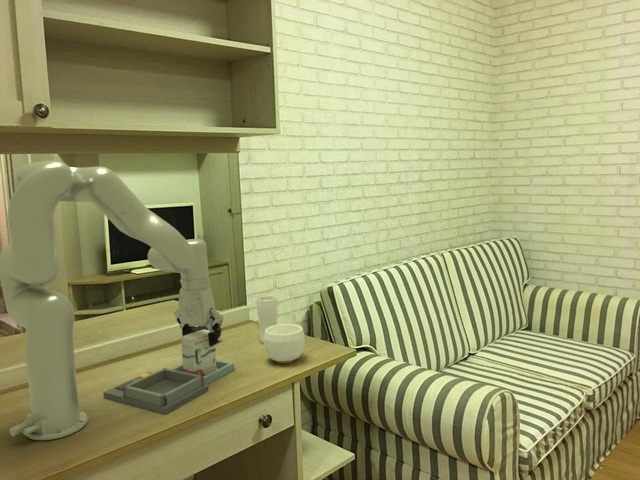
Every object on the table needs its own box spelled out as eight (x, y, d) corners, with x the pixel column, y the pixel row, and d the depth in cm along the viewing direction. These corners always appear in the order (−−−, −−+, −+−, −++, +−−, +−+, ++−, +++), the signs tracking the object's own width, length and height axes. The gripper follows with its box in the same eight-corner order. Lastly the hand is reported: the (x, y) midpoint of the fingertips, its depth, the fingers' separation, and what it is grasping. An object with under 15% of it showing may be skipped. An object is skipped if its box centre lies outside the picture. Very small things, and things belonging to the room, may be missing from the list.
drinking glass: (254, 341, 174) (252, 298, 172) (270, 336, 178) (268, 294, 177) (266, 345, 169) (264, 301, 167) (282, 341, 173) (281, 297, 172)
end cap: (198, 350, 167) (197, 330, 167) (185, 346, 172) (183, 326, 171) (222, 341, 175) (221, 322, 174) (208, 338, 179) (207, 319, 179)
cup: (256, 361, 155) (254, 330, 154) (286, 350, 164) (285, 321, 163) (283, 370, 146) (282, 338, 145) (314, 359, 155) (312, 328, 154)
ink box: (194, 381, 141) (191, 339, 140) (182, 377, 144) (179, 336, 143) (218, 371, 148) (215, 331, 146) (206, 367, 151) (204, 328, 150)
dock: (166, 414, 121) (164, 398, 121) (103, 397, 132) (102, 382, 131) (208, 390, 134) (207, 376, 134) (148, 377, 145) (147, 363, 144)
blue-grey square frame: (202, 386, 137) (202, 379, 137) (165, 378, 143) (165, 371, 143) (234, 369, 149) (234, 363, 148) (199, 362, 155) (198, 356, 155)
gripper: (162, 284, 144) (168, 343, 146) (210, 289, 136) (215, 351, 138) (182, 278, 150) (187, 335, 153) (228, 282, 142) (233, 342, 144)
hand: (200, 342), depth 145 cm, fingers open, 9 cm apart
